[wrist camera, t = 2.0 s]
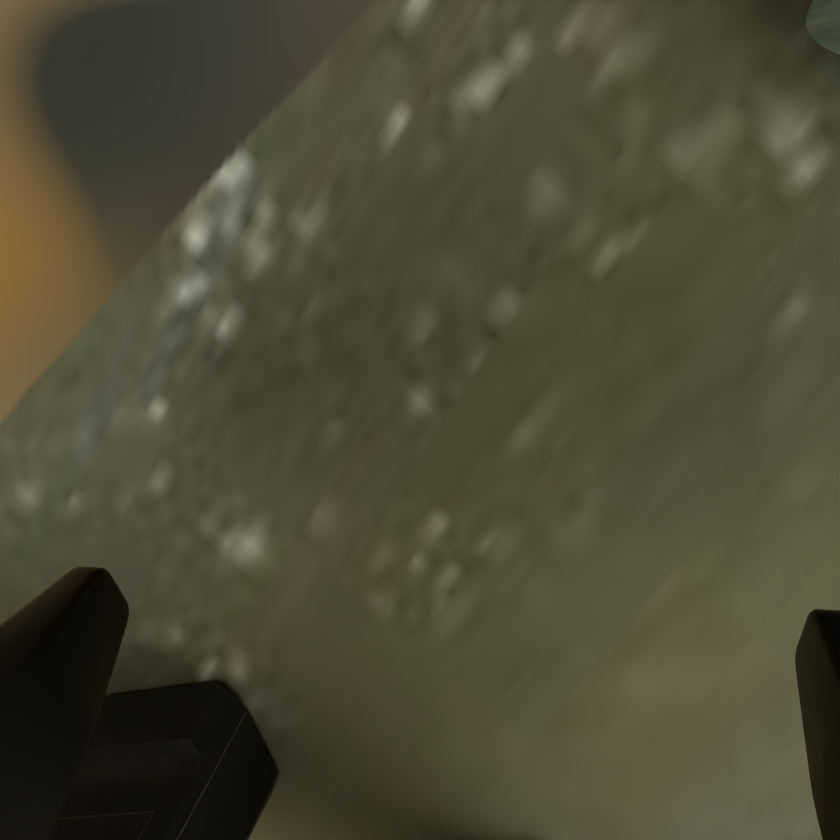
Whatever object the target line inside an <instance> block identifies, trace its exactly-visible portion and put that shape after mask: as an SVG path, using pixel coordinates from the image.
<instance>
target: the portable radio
mask: <svg viewBox="0 0 840 840" xmlns="http://www.w3.org/2000/svg"><path fill="white" fill-rule="evenodd" d="M276 781H277V771H276V769H275V767H274V765H273V763H272V761H271V759H270V757H269V755H268V753H267V751H266V749H265V747H264V745H263V743H262V741H261V739H260V737H259V735H258V733H257V731H256V729H255V726H254V724H253V722H252V720H251V718H250V716H249V714H248V713H247V712H246V710H245V709H244V708H243V707H242V705H241V704H240V703H239V701H238V700H237V699H236V698H235V697H234V696H233V695H232V694H231V693H230V692H229V691H228V690H227V689H226V688H224V687H223V686H222V685H221V684H220V683H218V682H208V683H201V684H193V685H185V686H178V687H170V688H163V689H155V690H147V691H139V692H132V693H124V694H116V695H110V696H108V697H105V698H104V701H103V705H102V708H101V711H100V714H99V717H98V720H97V723H96V725H95V728H94V730H93V733H92V736H91V738H90V741H89V743H88V746H87V748H86V750H85V753H84V755H83V758H82V760H81V763H80V765H79V767H78V770H77V772H76V775H75V777H74V780H73V782H72V784H71V787H70V789H69V792H68V794H67V796H66V799H65V801H64V804H63V806H62V809H61V811H60V813H59V816H58V818H57V821H56V823H55V826H54V828H53V830H52V833H51V835H50V838H49V840H248V838H249V836H250V834H251V833H252V831H253V829H254V827H255V825H256V823H257V821H258V819H259V817H260V815H261V813H262V811H263V809H264V807H265V805H266V803H267V801H268V799H269V797H270V795H271V793H272V790H273V788H274V785H275V783H276Z"/></svg>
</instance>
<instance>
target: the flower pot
mask: <svg viewBox="0 0 840 840" xmlns="http://www.w3.org/2000/svg"><path fill="white" fill-rule="evenodd" d="M806 26H807V30H808V33H809V35H810V36H811V38H812V39H813V40H814V41H816V42H817V43H818V44H819V45H821V46H823V47H824V48H826V49H828V50H830V51H832V52H834V53H836V54H838V55H840V0H813V1H812V4H811V6H810V8H809V10H808V13H807V18H806Z"/></svg>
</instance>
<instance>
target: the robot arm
mask: <svg viewBox="0 0 840 840" xmlns="http://www.w3.org/2000/svg"><path fill="white" fill-rule="evenodd" d="M128 616H129V607H128V603H127V601H126V599H125V597H124V596H123V594H122V593H121V591H120V589H119V588H118V586H117V584H116V583H115V581H114V579H113V578H112V576H111V574H110V573H109V572H108V571H107V570H105V569H104V568H96V567H78V568H75V569H73V570H71V571H70V572H68V573H67V574H66V575H64V576H63V577H62V578H60V579H59V580H58V581H57V582H55V583H54V584H53V585H51V586H50V587H49V588H48V589H46V590H45V591H44V592H42V593H41V594H40V595H39V596H37V597H36V598H35V599H33V600H32V601H31V602H30V603H28V604H27V605H26V606H24V607H23V608H22V609H21V610H19V611H18V612H17V613H15V614H14V615H13V616H12V617H10V618H9V619H8V620H7V621H5V622H4V623H3V624H1V625H0V840H49V838H50V835H51V833H52V830H53V828H54V826H55V823H56V821H57V818H58V816H59V813H60V811H61V809H62V806H63V804H64V801H65V799H66V796H67V794H68V792H69V789H70V787H71V784H72V782H73V780H74V777H75V775H76V772H77V770H78V767H79V765H80V763H81V760H82V758H83V755H84V753H85V750H86V748H87V746H88V743H89V741H90V738H91V736H92V733H93V730H94V728H95V725H96V723H97V720H98V717H99V714H100V711H101V708H102V705H103V701H104V698H105V695H106V691H107V688H108V685H109V681H110V678H111V675H112V671H113V668H114V665H115V661H116V658H117V655H118V651H119V648H120V645H121V641H122V638H123V635H124V631H125V628H126V625H127V621H128ZM795 665H796V674H797V682H798V690H799V697H800V705H801V712H802V720H803V728H804V735H805V743H806V751H807V758H808V766H809V773H810V780H811V787H812V794H813V800H814V804H815V809H816V813H817V818H818V822H819V826H820V830H821V834H822V838H823V840H840V611H839V610H822V609H815V610H813V611H811V612H810V613H809V615H808V617H807V620H806V623H805V626H804V629H803V631H802V634H801V637H800V640H799V643H798V646H797V649H796V657H795Z"/></svg>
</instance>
